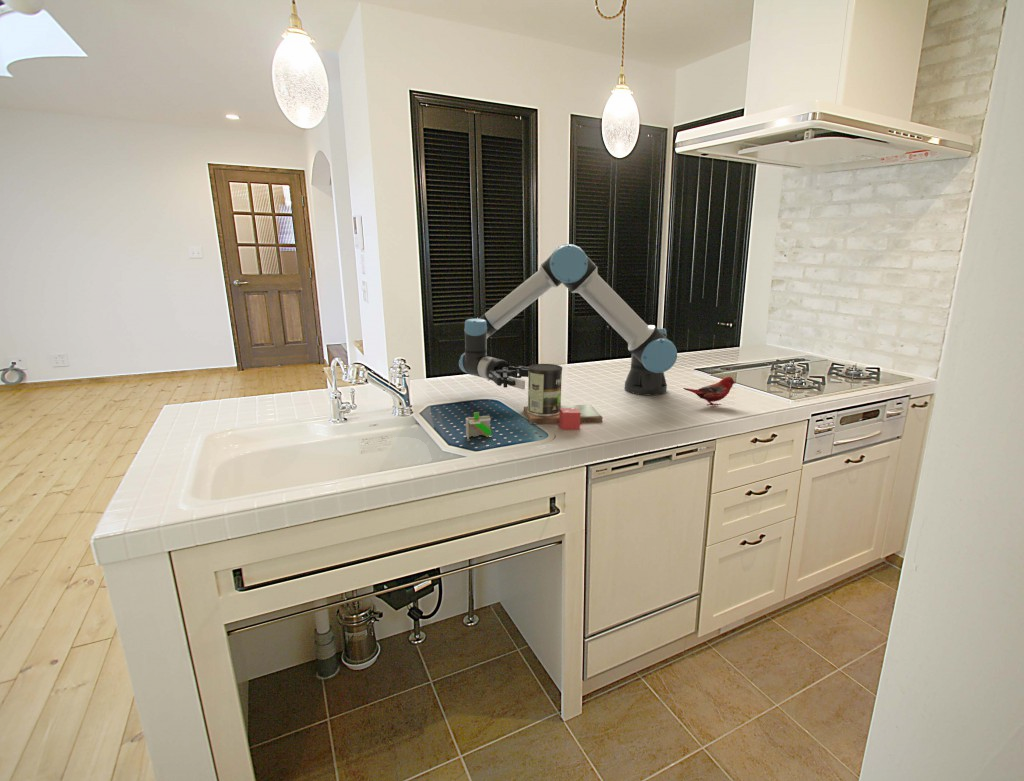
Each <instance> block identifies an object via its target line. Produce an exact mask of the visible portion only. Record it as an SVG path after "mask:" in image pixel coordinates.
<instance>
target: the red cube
mask: <svg viewBox="0 0 1024 781" xmlns="http://www.w3.org/2000/svg"><path fill="white" fill-rule="evenodd" d="M558 425H559V426H560V428H561V430H562V431H564V430H566V431H568V430H580V428H581V423H580V411H579V410H578V409H577V408H560V410H559V423H558Z"/></svg>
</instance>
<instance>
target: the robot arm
mask: <svg viewBox="0 0 1024 781" xmlns="http://www.w3.org/2000/svg"><path fill="white" fill-rule="evenodd" d="M560 285H563V286H564V287H566V288H567V289H568V291H569V292H570V293H572V294H575V293H576V294H579V295H580V296H581V297H582V298H583V299H584V300H585V301H586V302H587V303H588V304H589V305H590V306H591V308H593V309H594V310H595V311H596V312H597V313H598V315H600V316H601V317H602V318H603V319H604V320H605V321H606V322H607V324H608V325H609V326H611V328H613V329H614V330H615V331H616V332H617V333H618V335H619V336H621V337H622V339H624V340H625V341H626V343H627V349H628V351H629V352H630V354H631V358H630V360H631V361H630V369H629V372H628V375H627V377H626V380H625V381H624V390H625V389H626V391H627V392H629V391H630V393H632V392H634V393H633V394H636V393H639V394H638V395H643V394H650V395H649V396H653V395H654V394H658V395H663V394H665V393H667V391H668V389H667V388H668V384H667V381H666V376H665V372H667V371H669V370H671V369H672V368H673V366H674V365H675V364H676V361H677V358H678V351H677V348H676V345H675V343H673V341H671V340H669V339H668V338H667V336H668V334H667V329H666V328H662V327H661V328H658V327H657V326H656V325H654V324H647V323H646V322H645V321H644V319H642V318H641V317H640V316H639V315H638V314H637V313H636V312H635V311H634V310H633V308H632V307H630V305H628V303H627V302H626V301H625V300H624V299H622V298H621V296H620V295H619V294H618V293H617V292H616V291H615V290H614V289H613V288H612V287H611V285H609V284H608V283H607V282H606V281H605V280H604V279H603V278H602V277H601V276H600V275H599V273H598V266H597V265H596V264H595V262H593V261H592V260H591V258H590V257H588V256H587V254H586V252H585V251H584V250H583V249H582V248H581V247H580V246H578V245H575V244H571V243H566V244H565V243H564V244H562V245H560V246H558V247H557V248H556V249H555V250H553V252H552V254H550V256H549V257H548V258H547V259H546V260H545V261H544V262H543V263H541V264H540V265H539V268H538V270H537V271H536V272H534V274H532V275H531V276H530V277H528V278H527V279H525V281H524V282H522V283H520V284H519V285H518V286H517V287H516V288H515V289H513V290H512V291H511V292H510V293H509V294H508V295H506V296H505V297H504V298H502V299H501V300H500V301H499V302H497V303H496V304H495V305H493V307H491V308H490V309H489V310H487V311H486V312H485V313H484V314H482V315H481V316H479V318H469V319H465V321H464V329H463V331H464V352H463V353H462V354H461V355H460V358H459V360H458V366H459V369H460V370H461V371H462V372H463V373H466V374H468V375H471V376H474V377H477V378H483V379H486V380H487V381H492V382H494V383H495V384H496V386H498V387H499V386H500V387H501V386H502V385H503V388H505V389H506V388H508V386H509V387H513V388H516V389H520V390H526V380H525V379H521V378H528V376H529V370H528V366H524V365H517V366H513V365H510V364H509V363H508V362H507V360H504V359H500V358H496V357H492V356H487V355H488V354H487V351H488V350H487V349H488V347H487V345H488V341H487V340H488V339H489V337H491V336H492V335H493V334H494V333H496V332H497V331H498V330H500V329H501V328H502V327H503V326H505V325H506V324H507V323H509V321H511V320H512V319H514V318H515V317H516V316H517V315H518V314H520V313H521V312H523V310H525V309H526V308H528V307H529V306H530V305H531V304H533V303H534V302H535V301H536V300H538V299H539V298H541V297H542V296H543V295H544V294H545V293H547V292H548V291H549V290H550V289H552V288H558V287H559V286H560ZM662 393H663V394H662ZM654 396H655V395H654Z"/></svg>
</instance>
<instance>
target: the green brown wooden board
mask: <svg viewBox="0 0 1024 781" xmlns="http://www.w3.org/2000/svg"><path fill="white" fill-rule="evenodd" d="M561 408H577V409H578V410H579V411H580V424H581V423H603V416H602V415H601V413H599V411H598V410H596V408H594V406H592V404H571V405H569V404H568V405H566V404H565V405H564V404H562V405H561ZM523 413H524V415H525V417H526V419H527V418H528V419H527V420H529V421H528V423H529V422H530V423H537V424H536V425H551V424H553V425H554V424H559V414H558V415H555V416H535V415H532V414H530V413H528V406H523ZM530 423H529V424H530Z"/></svg>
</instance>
